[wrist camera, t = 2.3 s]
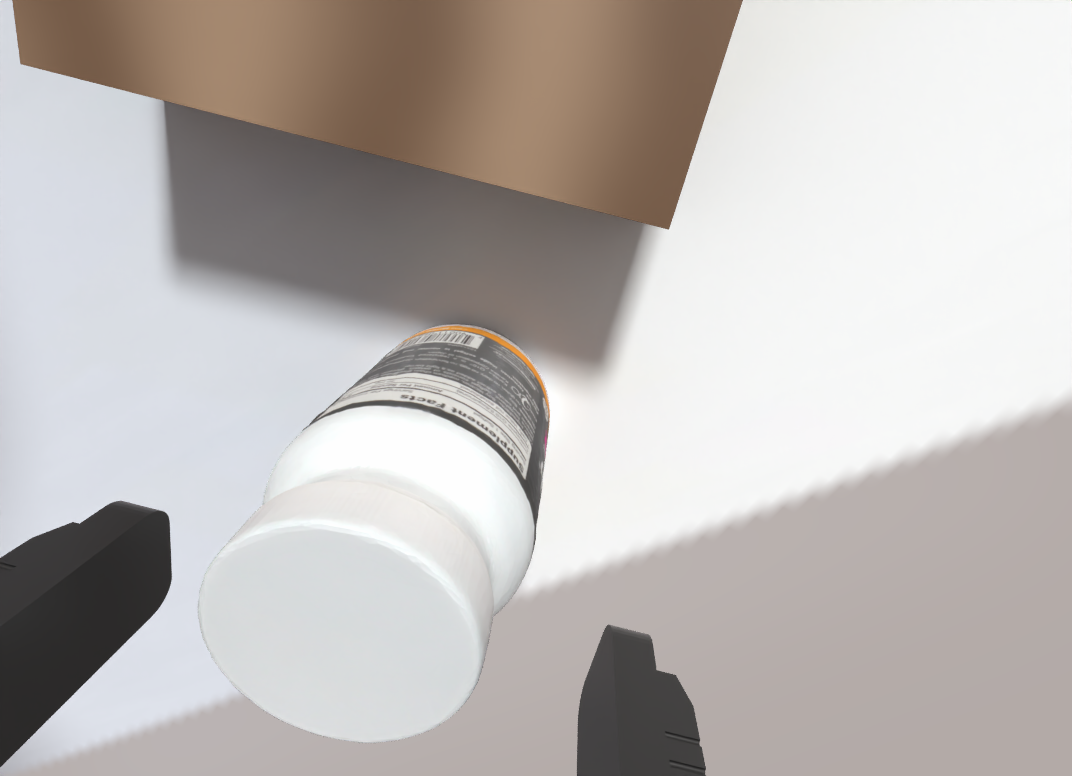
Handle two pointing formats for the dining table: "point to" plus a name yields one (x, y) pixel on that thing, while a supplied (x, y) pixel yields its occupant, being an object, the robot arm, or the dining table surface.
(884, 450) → the dining table surface
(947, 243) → the dining table surface
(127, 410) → the dining table surface
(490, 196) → the dining table surface
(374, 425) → the pill bottle
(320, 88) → the walnut base
